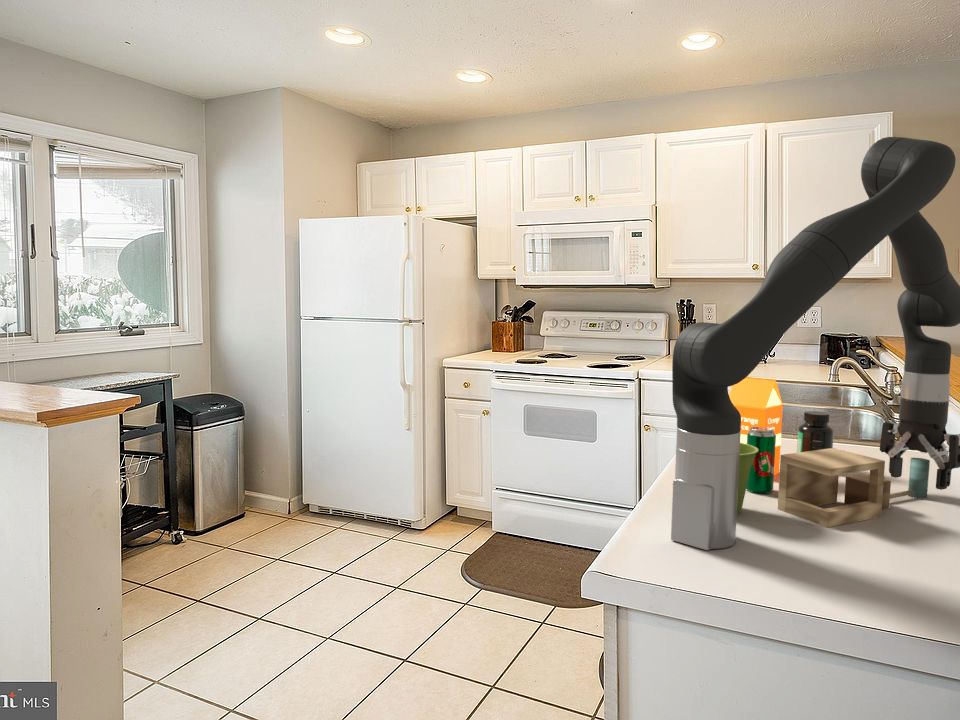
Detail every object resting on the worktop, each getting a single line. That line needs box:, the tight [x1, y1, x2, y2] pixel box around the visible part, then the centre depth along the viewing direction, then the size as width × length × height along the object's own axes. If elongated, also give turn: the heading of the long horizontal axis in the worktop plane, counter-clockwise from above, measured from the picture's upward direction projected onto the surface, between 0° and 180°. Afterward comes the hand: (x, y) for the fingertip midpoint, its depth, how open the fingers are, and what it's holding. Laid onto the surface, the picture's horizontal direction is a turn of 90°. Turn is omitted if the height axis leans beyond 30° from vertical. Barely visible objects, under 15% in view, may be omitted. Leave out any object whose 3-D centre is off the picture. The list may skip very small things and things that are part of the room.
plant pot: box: [737, 443, 759, 514], centre depth 120 cm, size 12×12×11 cm
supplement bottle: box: [796, 410, 835, 453], centre depth 148 cm, size 7×7×12 cm
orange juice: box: [728, 376, 784, 476], centre depth 144 cm, size 8×9×20 cm
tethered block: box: [843, 457, 930, 511], centre depth 125 cm, size 18×5×7 cm, turn 114°
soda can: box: [746, 427, 776, 495], centre depth 131 cm, size 5×5×12 cm
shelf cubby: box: [777, 447, 886, 528], centre depth 118 cm, size 13×10×10 cm
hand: (917, 482), depth 128 cm, fingers open, 8 cm apart
